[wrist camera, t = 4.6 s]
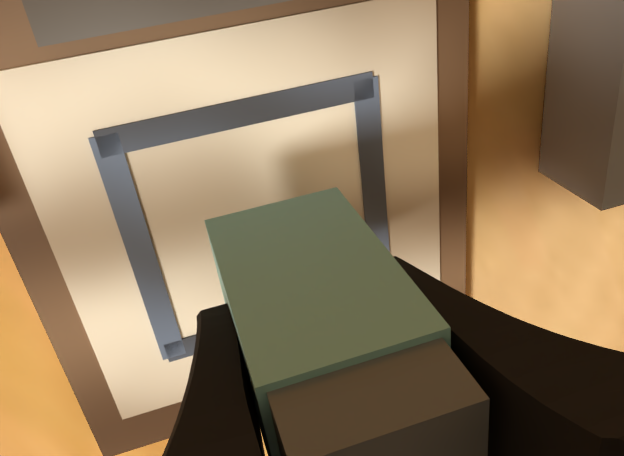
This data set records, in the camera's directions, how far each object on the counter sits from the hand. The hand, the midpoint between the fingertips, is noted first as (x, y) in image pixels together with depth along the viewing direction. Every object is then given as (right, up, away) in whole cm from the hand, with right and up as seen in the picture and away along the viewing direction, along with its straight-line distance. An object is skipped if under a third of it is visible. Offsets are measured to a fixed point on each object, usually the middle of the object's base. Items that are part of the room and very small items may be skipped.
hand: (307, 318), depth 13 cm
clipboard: (-2, +3, +4) cm, 5 cm away
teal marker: (-1, +1, +2) cm, 2 cm away
